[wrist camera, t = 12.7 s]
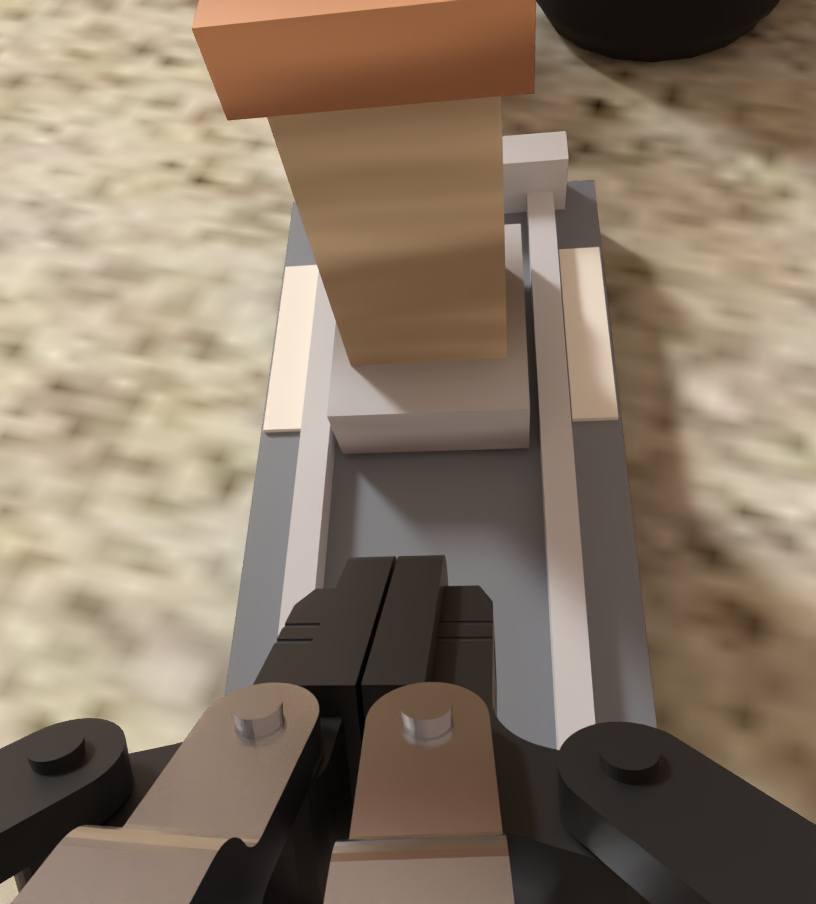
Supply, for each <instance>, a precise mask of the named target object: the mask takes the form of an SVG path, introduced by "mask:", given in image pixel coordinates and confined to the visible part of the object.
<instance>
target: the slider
mask: <svg viewBox="0 0 816 904" xmlns="http://www.w3.org/2000/svg"><path fill="white" fill-rule="evenodd" d="M535 25H536V0H199V2H198V6H197V10H196V13H195V17H194V21H193V25H192V31H193V33H194V36H195V38H196V41H197V43H198V46H199V48H200V51H201V54H202V56H203V59H204V61H205V64H206V66H207V69H208V71H209V74H210V77H211V79H212V82H213V84H214V87H215V89H216V92H217V95H218V97H219V100H220V102H221V105H222V107H223V110H224V112H225V115H226V118H227V120H239V119H250V118H261V117H267V118H268V121H269V124H270V127H271V130H272V133H273V136H274V139H275V142H276V145H277V148H278V151H279V154H280V157H281V160H282V163H283V166H284V169H285V172H286V175H287V178H288V181H289V184H290V187H291V190H292V193H293V196H294V199H295V201H296V204H297V207H298V210H299V213H300V216H301V219H302V222H303V225H304V228H305V231H306V234H307V237H308V240H309V243H310V246H311V249H312V252H313V255H314V258H315V261H316V264H317V267H318V270H319V273H320V276H321V279H322V282H323V285H324V288H325V291H326V294H327V297H328V300H329V303H330V306H331V309H332V312H333V315H334V318H335V321H336V325H335V336H334V346H333V357H332V367H331V378H330V389H329V399H328V410H327V418H328V420H329V423H330V425H331V427H332V430H333V432H334V434H335V437H336V439H337V441H338V444H339V446H340V448H341V451H342V453H343V454H357V453H389V452H420V451H452V450H483V449H515V448H529V428H530V399H529V379H528V359H527V339H526V319H525V300H524V280H523V260H522V240H521V224H508V225H504V183H503V136H502V96H508V95H520V94H531V93H534V73H535Z"/></svg>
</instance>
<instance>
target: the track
mask: <svg viewBox="0 0 816 904" xmlns="http://www.w3.org/2000/svg"><path fill="white" fill-rule="evenodd" d="M567 173H568V148H567V138H566V131H559V132H547V133H535V134H523V135H511V136H503V183H504V225H508V224H521V240H522V260H523V280H524V300H525V319H526V339H527V359H528V379H529V399H530V428H529V448H515V449H483V450H452V451H420V452H389V453H357V454H343V453H342V451H341V448H340V446H339V444H338V441H337V439H336V437H335V434H334V432H333V430H332V427H331V425H330V423H329V420H328V418H327V410H328V399H329V389H330V378H331V367H332V357H333V346H334V336H335V325H336V321H335V318H334V315H333V312H332V309H331V306H330V303H329V300H328V297H327V294H326V291H325V288H324V285H323V282H322V279H321V276H320V273H319V270H318V267H317V264H316V261H315V258H314V255H313V252H312V249H311V246H310V243H309V240H308V237H307V234H306V231H305V228H304V225H303V222H302V219H301V216H300V213H299V210H298V207H297V204H296V202H293V208H292V215H291V223H290V230H289V237H288V244H287V251H286V259H285V266H284V273H283V280H282V287H281V295H280V302H279V309H278V316H277V323H276V331H275V338H274V345H273V352H272V359H271V366H270V374H269V381H268V388H267V395H266V402H265V410H264V417H263V424H262V431H261V438H260V446H259V453H258V460H257V467H256V474H255V482H254V489H253V496H252V503H251V510H250V517H249V525H248V532H247V539H246V546H245V553H244V561H243V568H242V575H241V582H240V589H239V597H238V604H237V611H236V618H235V625H234V632H233V640H232V647H231V654H230V661H229V668H228V676H227V683H226V690H225V695H227V694H229V693H231V692H233V691H236V690H238V689H241V688H244V687H248V686H251V685H253V683H254V682H255V680H256V678H257V676H258V674H259V672H260V670H261V668H262V666H263V664H264V662H265V660H266V659H267V657H268V655H269V653H270V651H271V649H272V647H273V645H274V643H277V637H278V636H279V634H280V632H281V630H282V628H283V627H285V622H286V620H287V618H288V616H289V614H290V612H291V611H292V609H293V607H294V605H295V604H296V603H298V602H299V601H300V600H302V599H303V598H304V597H305V596H307V595H308V594H309V593H311V592H312V591H313V590H315V589H320V588H336V586H337V583H338V581H339V579H340V576H341V574H342V572H343V570H344V567H345V565H346V563H347V560H348V559H349V558H350V557H386V556H396V558H398V556H422V555H445V557H446V562H447V573H448V586H472V585H479V586H480V587H481V588H482V589H483V590H484V592H485V593H486V594H487V595H488V596H489V597H490V599H491V600H492V601H493V613H494V634H495V655H496V675H497V718H498V719H499V721H500V722H501V723H502V724H503V725H504V726H505V727H506V728H507V729H508V730H509V731H511V732H512V733H513V734H515V735H517V736H518V737H520V738H522V739H524V740H526V741H529V742H531V743H534V744H537V745H541V746H544V747H548V748H552V749H556V750H560V747H561V746H562V744H563V743H564V741H565V740H566V739H567V738H568V737H569V736H570V735H572V734H573V733H575V732H576V731H578V730H580V729H582V728H585V727H587V726H590V725H594V724H597V723H604V722H633V723H638V724H644V725H647V726H651V727H654V728H657V725H656V716H655V707H654V699H653V690H652V681H651V672H650V664H649V655H648V646H647V638H646V629H645V620H644V612H643V603H642V594H641V585H640V577H639V568H638V559H637V551H636V542H635V533H634V525H633V516H632V507H631V498H630V490H629V481H628V472H627V464H626V455H625V446H624V437H623V429H622V420H621V411H620V403H619V394H618V385H617V377H616V368H615V359H614V350H613V342H612V333H611V324H610V316H609V307H608V298H607V289H606V281H605V272H604V263H603V255H602V246H601V237H600V229H599V220H598V211H597V202H596V194H595V185H594V180H587V181H573V182H567Z"/></svg>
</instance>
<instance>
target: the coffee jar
mask: <svg viewBox="0 0 816 904" xmlns="http://www.w3.org/2000/svg"><path fill="white" fill-rule="evenodd" d="M779 1H780V0H536V2H537V3H538V4H539V6H540V7H541V9H542V10H543V12H544V14H545V15H546V16H547V18H548V19H549V21H550V22H551V23H552V25H553V26H554V28H555V29H556V30H557V32H558V33H560V34H561V35H563V36H564V37H566V38H567V39H569V40H570V41H572V42H573V43H575V44H576V45H578V46H579V47H581V48H583V49H586V50H589V51H593V52H596V53H599V54H602V55H605V56H608V57H611V58H615V59H626V60H637V61H648V62H655V61H664V60H674V59H683V58H691V57H694V56H697V55H700V54H703V53H706V52H709V51H713V50H716V49H719V48H722V47H725V46H727V45H728V44H730V43H731V42H733V41H734V40H736V39H738V38H739V37H741V36H742V35H744V34H746V33H747V32H749V31H750V30H752V29H753V28H754V27H755V26H756V24H757V23H758V22H759V21H760V20H761V19H762V18H764V17H765V16H767V15H768V14H769V13H770V12H771V11H772V10H773V8H774V7H775V6H776V5H777V3H778V2H779Z"/></svg>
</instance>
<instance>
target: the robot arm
mask: <svg viewBox="0 0 816 904" xmlns="http://www.w3.org/2000/svg"><path fill="white" fill-rule="evenodd" d="M12 876H14V877H15V881H16V885H17V888H18V892H19V894H18V895H17V897H16V898H15V899H14V900H13V902H12V903H11V904H816V825H815V824H813V823H812V822H810V821H808V820H807V819H805V818H804V817H802V816H800V815H799V814H797V813H796V812H794V811H792V810H791V809H789V808H788V807H786V806H784V805H783V804H781V803H780V802H778V801H776V800H775V799H773V798H772V797H770V796H768V795H767V794H765V793H764V792H762V791H760V790H759V789H757V788H756V787H754V786H752V785H751V784H749V783H748V782H746V781H744V780H743V779H741V778H740V777H738V776H736V775H735V774H733V773H732V772H730V771H728V770H727V769H725V768H724V767H722V766H720V765H719V764H717V763H716V762H714V761H712V760H711V759H709V758H708V757H706V756H705V755H703V754H701V753H700V752H698V751H697V750H695V749H693V748H692V747H690V746H689V745H687V744H685V743H684V742H682V741H681V740H679V739H677V738H676V737H674V736H672V735H670V734H668V733H667V732H664V731H662V730H659V729H657V728H654V727H651V726H647V725H644V724H638V723H633V722H604V723H597V724H594V725H590V726H587V727H585V728H582V729H580V730H578V731H576V732H575V733H573V734H572V735H570V736H569V737H568V738H567V739H566V740H565V741H564V743H563V744H562V746H561V747H560V750H556V749H552V748H548V747H544V746H541V745H537V744H534V743H531V742H529V741H526V740H524V739H522V738H520V737H518V736H517V735H515V734H513V733H512V732H511V731H509V730H508V729H507V728H506V727H505V726H504V725H503V724H502V723H501V722H500V721H499V719H498V718H497V675H496V655H495V634H494V613H493V601H492V600H491V599H490V597H489V596H488V595H487V594H486V593H485V592H484V590H483V589H482V588H481V587H480V586H479V585H472V586H448V573H447V562H446V557H445V555H422V556H398V558H396V556H386V557H350V558H349V559H348V560H347V563H346V565H345V567H344V570H343V572H342V574H341V576H340V579H339V581H338V583H337V586H336V588H320V589H315V590H313V591H312V592H311V593H309V594H308V595H307V596H305V597H304V598H303V599H302V600H300V601H299V602H298V603H296V604H295V605H294V607H293V609H292V611H291V612H290V614H289V616H288V618H287V620H286V622H285V627H283V628H282V630H281V632H280V634H279V636H278V637H277V643H274V645H273V647H272V649H271V651H270V653H269V655H268V657H267V659H266V660H265V662H264V664H263V666H262V668H261V670H260V672H259V674H258V676H257V678H256V680H255V682H254V683H253V685H251V686H248V687H244V688H241V689H238V690H236V691H233V692H231V693H229V694H227V695H225V696H223V697H222V698H220V699H219V700H217V701H216V702H214V703H213V704H212V705H211V706H210V707H209V708H208V709H207V710H206V711H205V712H204V714H203V715H202V716H201V718H200V719H199V720H198V722H197V723H196V725H195V726H194V728H193V729H192V730H191V732H190V733H189V735H188V736H187V737H186V739H185V740H184V742H181V743H177V744H173V745H168V746H164V747H159V748H154V749H149V750H145V751H140V752H135V753H130V754H129V753H128V748H127V744H126V739H125V735H124V733H123V730H122V729H121V728H120V727H119V726H118V725H116V724H115V723H113V722H110V721H108V720H103V719H96V718H84V719H75V720H69V721H65V722H61V723H57V724H54V725H51V726H48V727H45V728H43V729H41V730H39V731H36V732H34V733H32V734H30V735H28V736H26V737H24V738H22V739H20V740H18V741H16V742H14V743H11V744H9V745H7V746H5V747H3V748H1V749H0V884H1V883H2V882H4V881H6V880H7V879H9V878H11V877H12Z"/></svg>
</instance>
